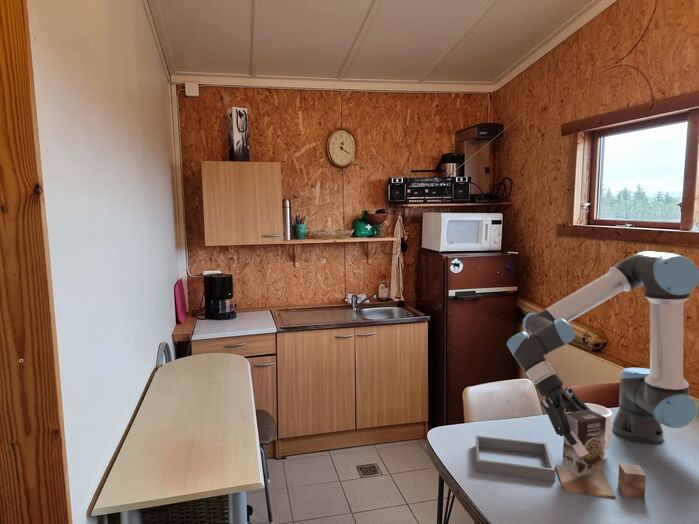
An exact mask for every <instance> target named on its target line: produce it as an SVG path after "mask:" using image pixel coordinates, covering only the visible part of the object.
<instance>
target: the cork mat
mask: <svg viewBox="0 0 699 524" xmlns="http://www.w3.org/2000/svg"><path fill="white" fill-rule="evenodd" d="M554 468H555V471H556V473H557V476H558V479H559V482H560V484H561V488H562V491H563V492H564V493H572V494H580V495H587V496H596V497H602V498H611V499H616V494H615V492H614V490H613V488H612V486H611V484H610V482H609V481H608V479H607V476H606V474H605V472H604V470H603V471H601V472H596V473H591V474H587V475H582V476H577V475H575V474H574V473H573V472H571V471H570V470H568V469H567V468H566V467H564V466H563V465H562V464H561V465H560V464H555V465H554Z"/></svg>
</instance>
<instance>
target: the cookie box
mask: <svg viewBox="0 0 699 524" xmlns="http://www.w3.org/2000/svg"><path fill="white" fill-rule="evenodd" d="M565 415H566V418H567V421H568V425H569V428H570V432H571V431H574V433H575V434H576V436H577V437H578V439H579V440H580V441H581V443H582V444H583V446H584V447H585V449H586V450H587V451H588V454H586V455H584V456H582V457H579V455H578V454H577V452H576V451H575V450H574V448H573V447H572V446H571V445H570V443H569V442H568V440H567V439H566V437H565V436H564V435H563V448H562V462H561V463H562V464H561V465H562V466H564V467H566V468H567V469H568V470H570V471H571V472H573V473H574V474H575V475H577V476H582V475H587V474H591V473H596V472H601V471H603V472H604V462H605V461H604V460H605V459H604V444H605V427H606V417H604V416H602V415H600V414H598V413H596V412H593V411H591V410H589V409H588V410H582V411H576V412H571V411H570V412H565Z"/></svg>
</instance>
